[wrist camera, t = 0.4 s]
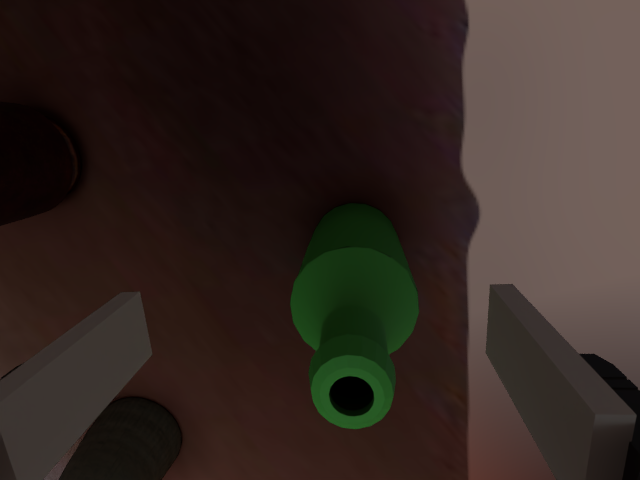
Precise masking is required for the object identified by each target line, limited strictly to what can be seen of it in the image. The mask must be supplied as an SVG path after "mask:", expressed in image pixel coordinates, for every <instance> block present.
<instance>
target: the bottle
mask: <svg viewBox="0 0 640 480" xmlns="http://www.w3.org/2000/svg"><path fill="white" fill-rule="evenodd" d="M290 305H291V312H292V318H293V323H294V324H295V326H296V328H297V330H298V331H299V333H300V335H301V337H302V338H303V340H304V341H305V342H306V343H308V344H309V345H310V346H311V347H312V348H313V349H315V350H316V353H315V354H314V356H313V357H312V359H311V363H310V368H309V379H310V387H311V393H312V398H313V402H314V404H315V406H316V408H317V410H318V412H319V413H320V414H321V415H322V416H323V417H324V418H326V419H327V420H328V421H329V422H331V423H333V424H335V425H338V426H340V427H342V428H351V429H359V428H364V427H369V426H371V425H373V424H375V423H376V422H378V421H380V420H381V419H382V418H383V417H384V416H385V414H386V413H387V412H388V411H389V409H390V406H391V403H392V400H393V396H394V389H395V382H396V378H395V368H394V365H393V363H392V360H391V358H390V356H389V354H390V353H392V352H394V351H395V350H397V349H399V348H400V347H401V345H402V344H403V343H404V342H405V341H406V339H407V338H408V337H409V336H410V334H411V333H412V332H413V329H414V326H415V323H416V320H417V317H418V313H419V305H418V292H417V288H416V285H415V282H414V280H413V277H412V274H411V271H410V269H409V266H408V263H407V260H406V257H405V255H404V252H403V249H402V247H401V244H400V241H399V239H398V236H397V233H396V231H395V229H394V227H393V225H392V223H391V221H390V220H389V219H388V218H387V217H386V216H385V215H384V214H383V213H382V212H381V211H380V210H378V209H376V208H373V207H371V206H369V205H366V204H357V203H349V204H345V205H342V206H338V207H335V208H334V209H333V210H331V211H330V212H328V213H327V214H326V215H324V216H323V218H322V219H321V221H320V222H319V224H318V225H317V227H316V228H315V231H314V233H313V236H312V238H311V241H310V243H309V245H308V248H307V251H306V254H305V257H304V259H303V262H302V265H301V268H300V271H299V274H298V277H297V278H296V280H295V281H294V285H293V290H292V296H291V301H290Z"/></svg>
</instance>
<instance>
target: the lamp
mask: <svg viewBox="0 0 640 480" xmlns="http://www.w3.org/2000/svg"><path fill="white" fill-rule="evenodd" d="M181 443H182V440H181V432H180V429H179V427H178V424H177V422H176V421H175V420H174V418H173V417H172V415H171V414H170V413H169V412H168V411H166V410H165V409H164V408H163V407H161V406H160V405H158V404H156V403H154V402H152V401H149V400H146V399H143V398H132V397H130V398H123V399H119V400H117V401H115V402H113V403H111V404H109V405H108V406H107V407H106V408H105V409H104V410H103V411H102V412H101V414H100V415H99V416H98V417H97V419H96V420H95V422H94V423H93V425H92V426H91V427H90V428H89V430H88V431H87V432H86V434H85V436H84V438H83V440H82V441H81V442H80V444H79V446H78V447H77V449H76V451H75V452H74V454H73V456H72V457H71V459H70V460H69V462H68V464H67V465H66V467H65V469H64V471H63V472H62V474H61V476H60V478H59V480H162V478H163V477H164V475H165V474H166V472H167V471H168V469H169V468H170V467H171V465H172V464H173V462H174V461H175V459H176V458H177V456H178V454H179V451H180V447H181Z"/></svg>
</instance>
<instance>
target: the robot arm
mask: <svg viewBox="0 0 640 480" xmlns="http://www.w3.org/2000/svg"><path fill="white" fill-rule="evenodd" d="M486 354H487V356H488V358H489V359H490V361H491V363H492V365H493V367H494V369H495V370H496V372H497V374H498V376H499V378H500V379H501V381H502V383H503V385H504V387H505V388H506V390H507V392H508V394H509V396H510V397H511V399H512V401H513V403H514V405H515V406H516V408H517V410H518V412H519V413H520V415H521V417H522V419H523V421H524V423H525V424H526V426H527V428H528V430H529V432H530V433H531V435H532V437H533V439H534V441H535V442H536V444H537V446H538V448H539V450H540V452H541V453H542V455H543V457H544V459H545V461H546V462H547V464H548V466H549V468H550V469H551V471H552V473H553V475H554V477H555V478H556V480H640V391H639V390H638V388H637V387H636V386H635V385H634V384H633V383H632V382H631V381H630V380H627V377H626V376H625V375H624V374H623V373H622V372H621V371H619V369H617V368H616V367H615V366H614V365H613V364H611V363H609V362H608V361H606V360H604V359H602V358H601V357H599V356H597V355H595V354H578V353H577V352H576V350H575V349H574V348H573V347H572V346H571V345H570V344H569V343H568V342H567V341H566V340H565V339H564V338H563V337H562V336H561V335H560V334H559V333H558V332H557V331H556V329H555V328H554V327H553V326H552V325H551V324H550V323H549V322H548V321H547V320H546V319H545V318H544V317H543V316H542V315H541V314H540V313H539V312H538V311H537V309H535V307H534V306H533V305H532V304H531V303H530V302H529V301H528V300H527V299H526V298H525V297H524V296H523V295H522V294H521V293H520V292H519V291H518V290H517V288H516V287H515V286H514V285H513V284H500V285H499V284H498V285H490V295H489V311H488V326H487V343H486ZM151 355H152V350H151V345H150V340H149V335H148V330H147V325H146V320H145V315H144V310H143V305H142V300H141V295H140V292H121V293H120V294H118V295H117V296H115V297H114V298H113V299H111V300H110V301H109V302H107V303H106V304H104V305H103V306H102V307H100V308H99V309H98V310H96V311H95V312H94V313H92V314H91V315H89V316H88V317H87V318H85V319H84V320H83V321H81V322H80V323H78V324H77V325H76V326H74V327H73V328H72V329H70V330H69V331H67V332H66V333H65V334H63V335H62V336H61V337H59V338H58V339H56V340H55V341H54V342H52V343H51V344H50V345H48V346H47V347H46V348H44V349H43V350H41V351H40V352H39V353H37V354H36V355H35V356H33V357H32V358H30V359H29V360H28V361H26V362H25V363H23V364H21V365H19V366H17V367H15V368H14V369H13V370H11V371H10V372H8V373H7V374H6V375H4V376H3V377H1V380H0V480H43V479H44V478H45V476H46V475H47V474H48V473H49V472H50V471H51V470H52V468H53V467H54V466H55V465H56V464H57V463H58V462H59V460H60V459H61V458H62V457H63V456H64V455H65V454H66V452H67V451H68V450H69V449H70V448H71V447H72V446H73V444H74V443H75V442H76V441H77V440H78V439H79V438H80V436H81V435H82V434H83V433H84V432H85V431H86V430H87V428H88V427H89V426H90V425H91V424H92V423H93V422H94V420H95V419H96V418H97V417H98V416H99V415H100V414H101V412H102V411H103V410H104V409H105V408H106V407H107V406H108V404H109V403H110V402H111V401H112V400H113V399H114V398H115V396H116V395H117V394H118V393H119V392H120V391H121V390H122V388H123V387H124V386H125V385H126V384H127V383H128V382H129V380H130V379H131V378H132V377H133V376H134V375H135V374H136V372H137V371H138V370H139V369H140V368H141V367H142V366H143V364H144V363H145V362H146V361H147V360H148V359H149V358H150V356H151Z"/></svg>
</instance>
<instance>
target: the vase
mask: <svg viewBox="0 0 640 480" xmlns="http://www.w3.org/2000/svg"><path fill="white" fill-rule="evenodd" d="M80 174H81V158H80V153H79V150H78V147H77V145H76V143H75V141H74V139H73V138H72V136H71V135H70V134H69V133H68V131H67V130H66V129H65V128H64V127H63V126H61V125H60V124H59V123H57V122H56V121H54V120H53V119H51V118H49V117H46V116H43V115H42V114H40V113H39V112H37V111H36V110H33V109H31V108H29V107H27V106H23V105H20V104H14V103H5V102H0V226H1V225H5V224H8V223H11V222H15V221H18V220H22V219H25V218H28V217H31V216H34V215H37V214H40V213H43V212H46V211H49V210H51V209H52V208H54V207H56V206H57V205H58V204H59V203H60V202H61V201H62V200H63V199H64V197H65V196H66V195H68V194H69V193H70V192H71V191H72V190H73V189H74V188H75V186H76V185H77V183H78V181H79V178H80Z"/></svg>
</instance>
